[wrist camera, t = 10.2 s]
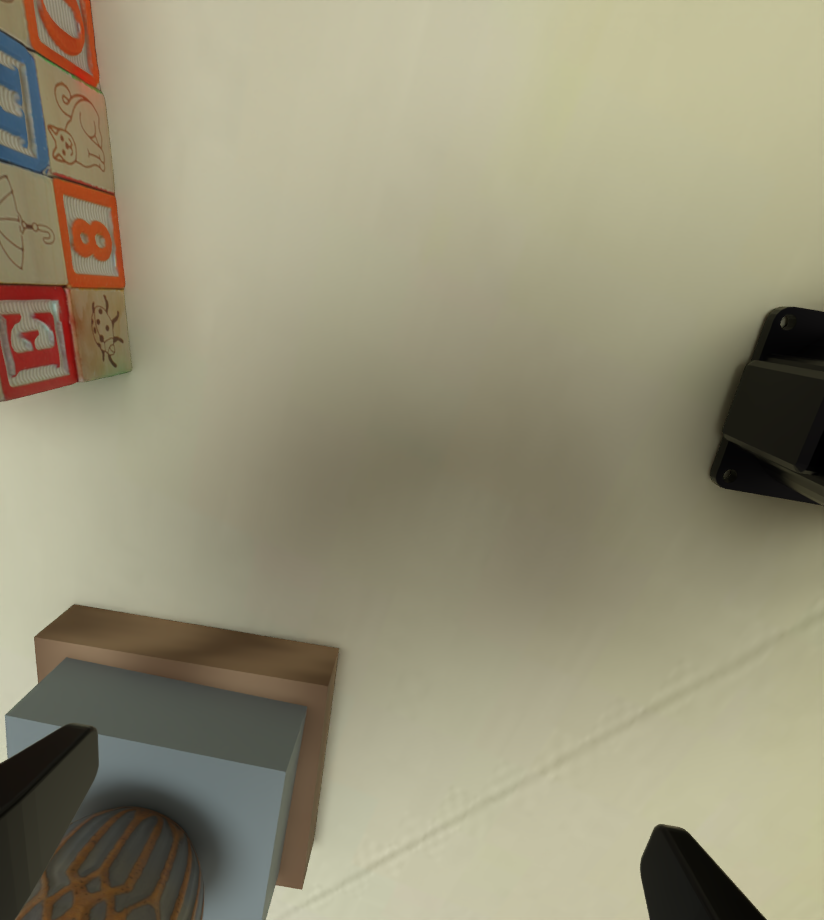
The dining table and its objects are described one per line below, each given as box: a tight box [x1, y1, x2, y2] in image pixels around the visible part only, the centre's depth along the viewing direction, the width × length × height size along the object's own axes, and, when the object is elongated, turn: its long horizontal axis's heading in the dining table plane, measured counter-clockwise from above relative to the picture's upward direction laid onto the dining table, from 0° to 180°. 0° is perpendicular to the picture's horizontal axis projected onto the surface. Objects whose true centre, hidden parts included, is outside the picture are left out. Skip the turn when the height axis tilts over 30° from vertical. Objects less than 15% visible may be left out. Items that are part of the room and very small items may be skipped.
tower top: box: [5, 657, 307, 920], centre depth 20 cm, size 10×10×3 cm
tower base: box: [34, 604, 339, 889], centre depth 23 cm, size 12×12×3 cm
